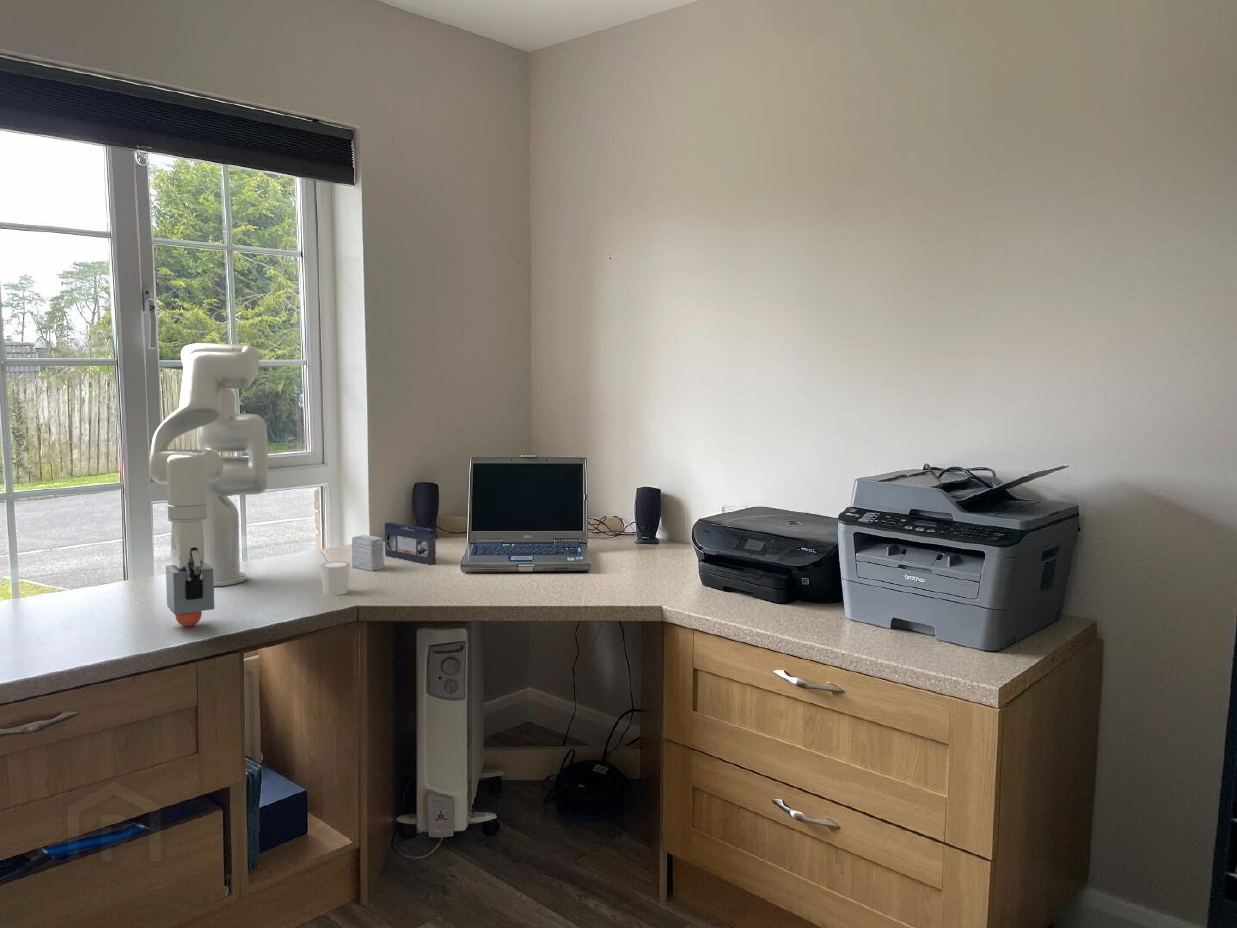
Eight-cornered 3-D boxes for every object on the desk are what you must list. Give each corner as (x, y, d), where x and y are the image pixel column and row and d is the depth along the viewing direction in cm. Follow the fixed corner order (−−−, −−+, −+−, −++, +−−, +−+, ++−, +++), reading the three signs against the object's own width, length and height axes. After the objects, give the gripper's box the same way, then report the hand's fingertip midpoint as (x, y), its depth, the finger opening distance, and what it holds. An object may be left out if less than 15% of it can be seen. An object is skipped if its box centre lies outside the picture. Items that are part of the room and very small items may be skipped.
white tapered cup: (341, 596, 217) (341, 568, 217) (315, 594, 219) (315, 566, 218) (355, 589, 224) (355, 562, 223) (329, 587, 225) (329, 560, 225)
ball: (188, 595, 193) (201, 612, 195) (167, 611, 190) (181, 628, 192) (195, 599, 189) (209, 617, 191) (174, 615, 187) (189, 633, 189)
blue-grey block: (167, 606, 192) (165, 565, 191) (205, 601, 197) (204, 561, 196) (174, 614, 186) (173, 572, 185) (214, 609, 190) (213, 568, 190)
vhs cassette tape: (384, 556, 262) (384, 522, 261) (392, 554, 265) (392, 521, 264) (428, 566, 252) (428, 531, 251) (436, 564, 254) (436, 529, 253)
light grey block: (384, 569, 247) (384, 537, 246) (371, 572, 243) (371, 540, 242) (364, 564, 251) (364, 534, 250) (351, 567, 247) (351, 536, 246)
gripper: (160, 508, 194) (162, 588, 196) (176, 520, 180) (179, 606, 182) (197, 505, 198) (199, 583, 200) (217, 517, 184) (218, 601, 186)
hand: (190, 593), depth 191 cm, fingers closed on blue-grey block, 7 cm apart
